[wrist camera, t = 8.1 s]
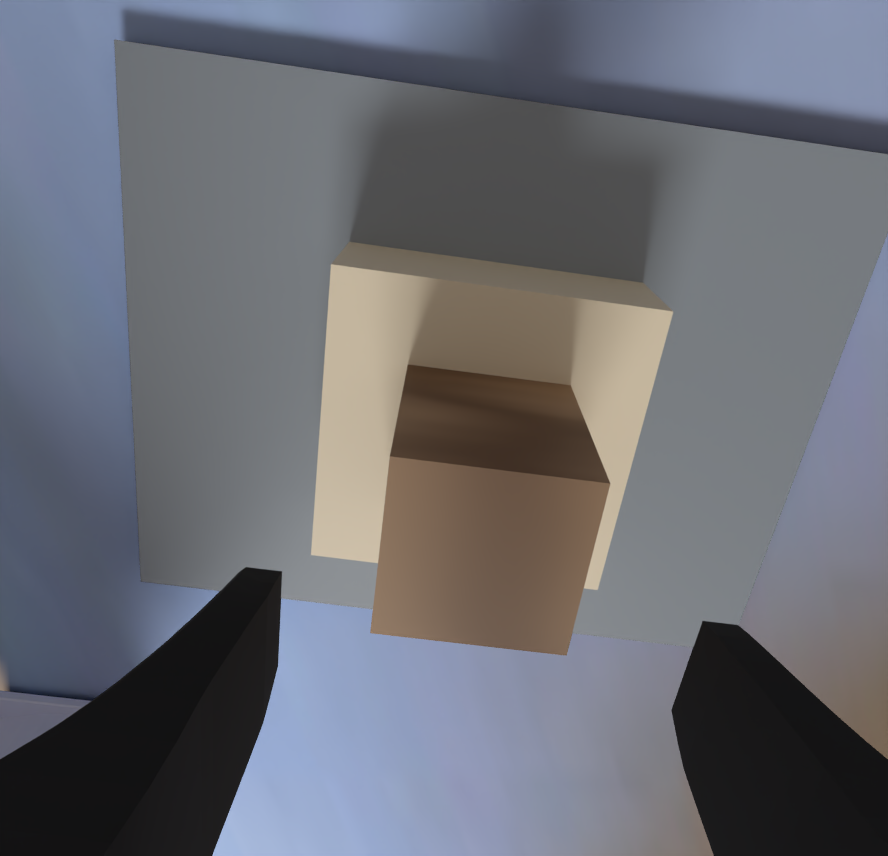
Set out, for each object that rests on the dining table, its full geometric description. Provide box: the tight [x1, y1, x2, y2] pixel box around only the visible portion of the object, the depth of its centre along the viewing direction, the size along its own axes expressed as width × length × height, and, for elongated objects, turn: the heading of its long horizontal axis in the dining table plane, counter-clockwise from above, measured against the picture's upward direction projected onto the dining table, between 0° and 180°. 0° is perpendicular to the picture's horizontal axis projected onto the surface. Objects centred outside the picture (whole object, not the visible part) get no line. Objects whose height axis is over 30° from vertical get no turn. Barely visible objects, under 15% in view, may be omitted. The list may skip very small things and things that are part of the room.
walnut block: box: [370, 364, 610, 655], centre depth 16 cm, size 4×4×5 cm
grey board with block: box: [114, 40, 888, 648], centre depth 20 cm, size 20×16×4 cm
